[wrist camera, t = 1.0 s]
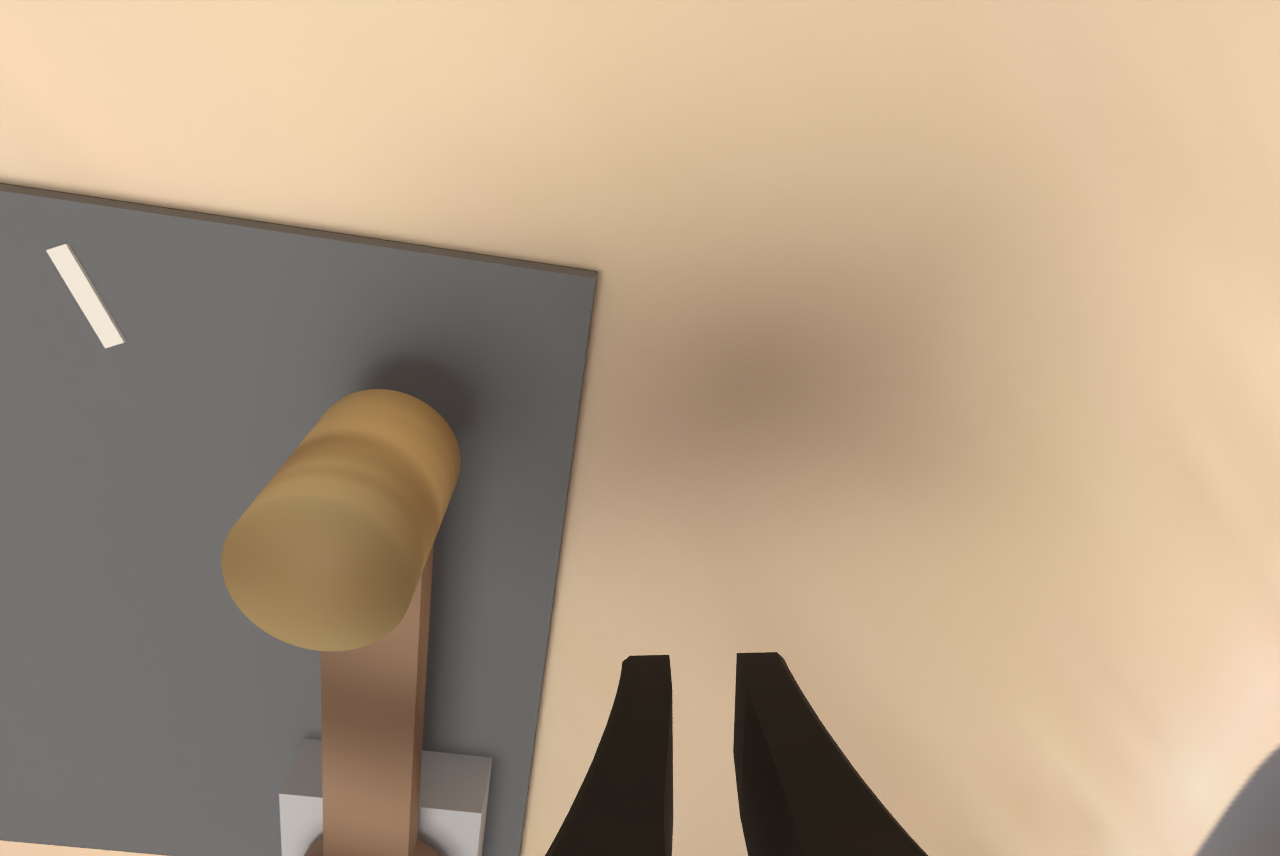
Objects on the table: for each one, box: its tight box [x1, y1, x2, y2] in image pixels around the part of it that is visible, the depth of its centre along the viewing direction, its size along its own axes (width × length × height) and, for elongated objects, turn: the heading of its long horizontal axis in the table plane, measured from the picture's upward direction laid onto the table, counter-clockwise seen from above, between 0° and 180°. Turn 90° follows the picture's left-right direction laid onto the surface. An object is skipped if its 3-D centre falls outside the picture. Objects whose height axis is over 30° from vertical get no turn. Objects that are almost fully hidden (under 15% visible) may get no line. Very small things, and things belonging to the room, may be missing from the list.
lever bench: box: [0, 183, 597, 856], centre depth 22 cm, size 21×19×3 cm
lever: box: [221, 389, 461, 856], centre depth 19 cm, size 18×4×4 cm, turn 171°
